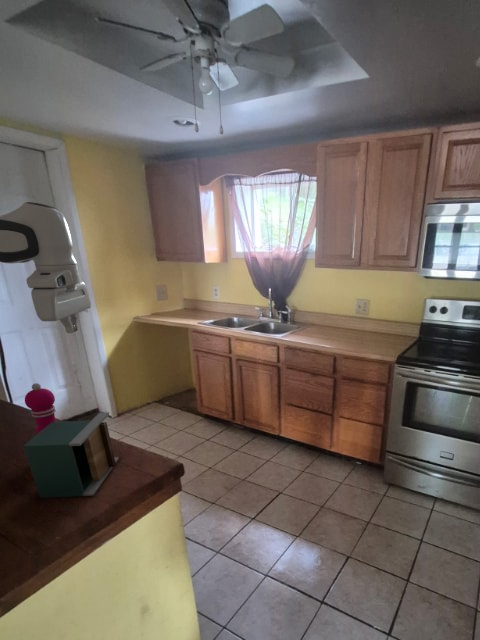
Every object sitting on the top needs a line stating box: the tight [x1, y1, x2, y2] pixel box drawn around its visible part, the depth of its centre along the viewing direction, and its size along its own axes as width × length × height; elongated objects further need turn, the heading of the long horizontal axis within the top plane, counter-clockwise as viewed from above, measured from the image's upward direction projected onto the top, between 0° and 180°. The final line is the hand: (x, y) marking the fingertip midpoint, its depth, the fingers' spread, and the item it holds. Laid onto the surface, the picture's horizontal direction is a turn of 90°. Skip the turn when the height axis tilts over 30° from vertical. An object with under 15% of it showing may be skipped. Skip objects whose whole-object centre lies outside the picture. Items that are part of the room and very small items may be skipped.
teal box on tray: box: [22, 411, 120, 499], centre depth 85 cm, size 11×15×13 cm
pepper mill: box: [24, 382, 58, 437], centre depth 92 cm, size 7×7×20 cm
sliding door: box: [83, 421, 117, 481], centre depth 85 cm, size 2×7×11 cm, turn 4°
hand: (72, 332), depth 97 cm, fingers closed
